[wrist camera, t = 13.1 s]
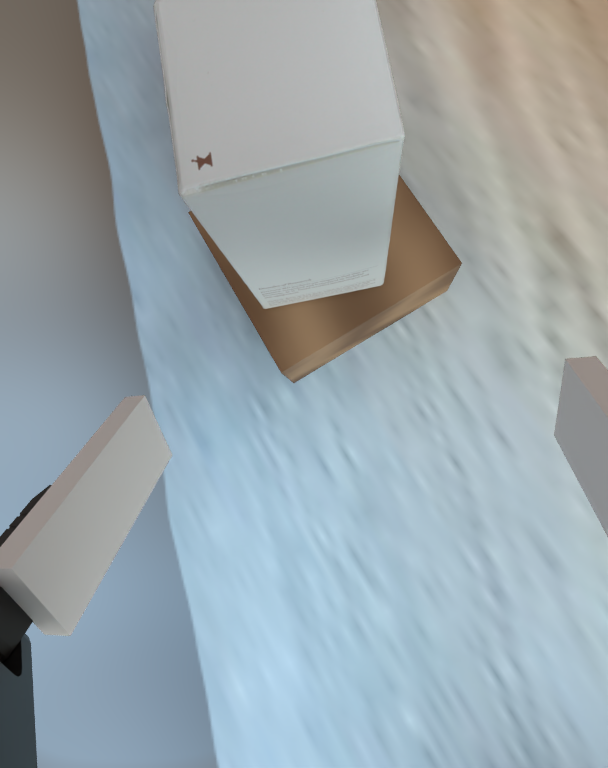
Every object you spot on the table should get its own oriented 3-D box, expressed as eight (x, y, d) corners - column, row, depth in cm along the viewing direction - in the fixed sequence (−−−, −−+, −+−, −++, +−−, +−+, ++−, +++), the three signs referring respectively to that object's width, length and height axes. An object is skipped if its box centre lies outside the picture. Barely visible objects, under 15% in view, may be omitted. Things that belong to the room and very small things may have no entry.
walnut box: (354, 159, 32) (351, 108, 27) (445, 293, 30) (462, 263, 25) (215, 247, 32) (188, 212, 27) (294, 384, 30) (281, 372, 25)
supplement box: (386, 288, 25) (411, 142, 13) (261, 312, 26) (169, 197, 13) (364, 170, 26) (367, -72, 14) (245, 197, 27) (144, -9, 14)
